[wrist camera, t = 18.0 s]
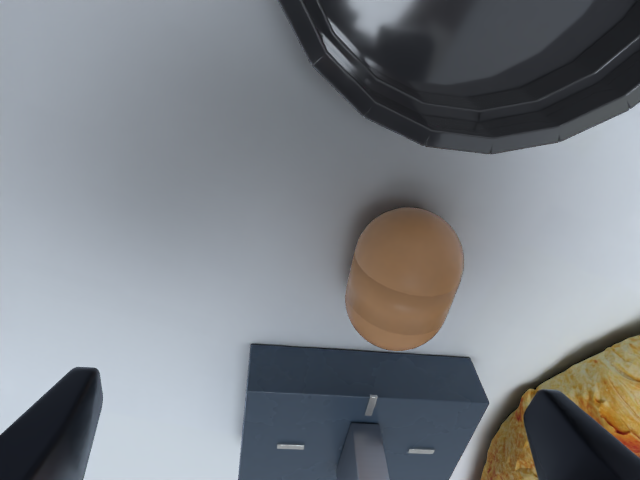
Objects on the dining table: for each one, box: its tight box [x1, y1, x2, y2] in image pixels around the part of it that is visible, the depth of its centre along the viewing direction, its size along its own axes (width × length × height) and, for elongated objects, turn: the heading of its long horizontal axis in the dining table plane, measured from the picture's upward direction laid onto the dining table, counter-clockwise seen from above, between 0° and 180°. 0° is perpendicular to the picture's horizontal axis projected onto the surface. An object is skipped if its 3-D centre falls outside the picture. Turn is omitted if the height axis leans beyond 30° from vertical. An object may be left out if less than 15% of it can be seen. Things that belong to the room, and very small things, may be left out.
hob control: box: [238, 344, 489, 480], centre depth 26 cm, size 12×8×3 cm
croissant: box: [481, 335, 640, 480], centre depth 27 cm, size 21×10×8 cm, turn 158°
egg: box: [345, 207, 464, 351], centre depth 20 cm, size 4×6×4 cm
